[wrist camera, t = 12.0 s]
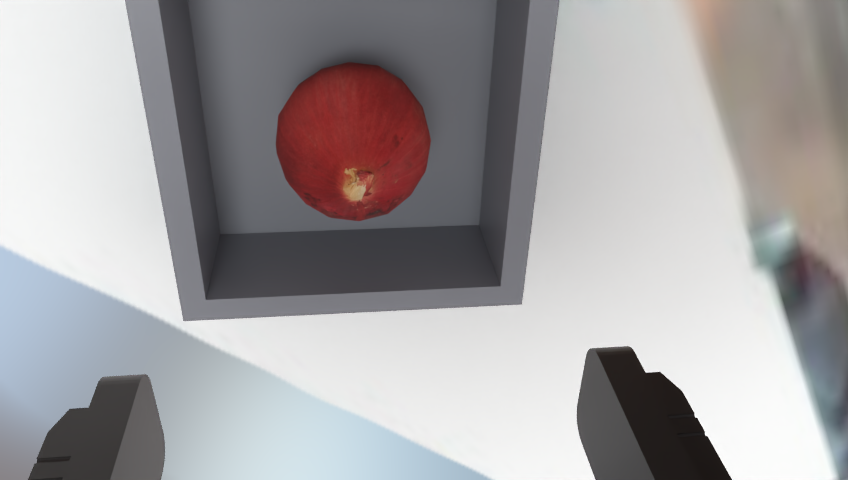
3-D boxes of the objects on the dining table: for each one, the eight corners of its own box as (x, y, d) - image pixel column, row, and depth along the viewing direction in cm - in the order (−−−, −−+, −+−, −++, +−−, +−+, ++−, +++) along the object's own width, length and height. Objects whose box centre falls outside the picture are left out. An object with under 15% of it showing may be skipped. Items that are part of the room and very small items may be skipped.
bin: (522, -72, 29) (564, -40, 24) (493, 231, 37) (521, 304, 32) (154, -76, 28) (117, -43, 22) (203, 242, 35) (183, 321, 30)
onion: (430, 150, 33) (459, 247, 26) (304, 180, 33) (300, 286, 26) (401, 22, 30) (425, 95, 23) (261, 56, 30) (245, 140, 23)
